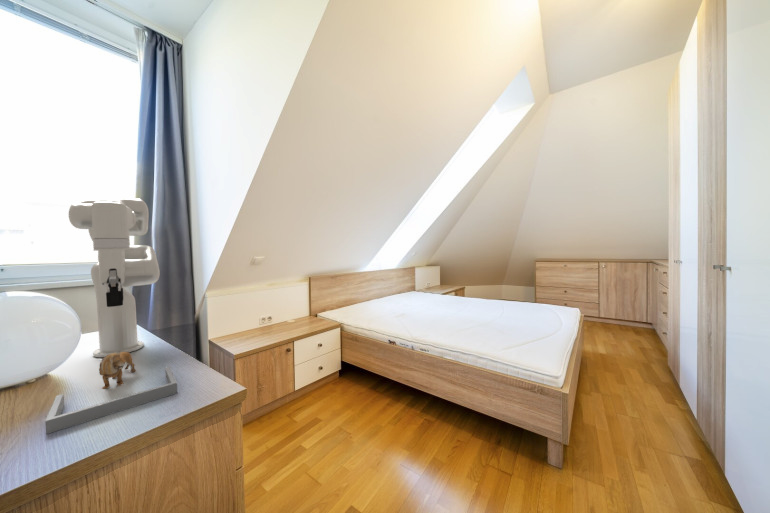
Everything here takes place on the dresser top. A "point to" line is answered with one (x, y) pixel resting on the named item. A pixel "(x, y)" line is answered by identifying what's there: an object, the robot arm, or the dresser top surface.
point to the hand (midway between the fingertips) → (115, 303)
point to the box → (106, 405)
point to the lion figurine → (115, 367)
